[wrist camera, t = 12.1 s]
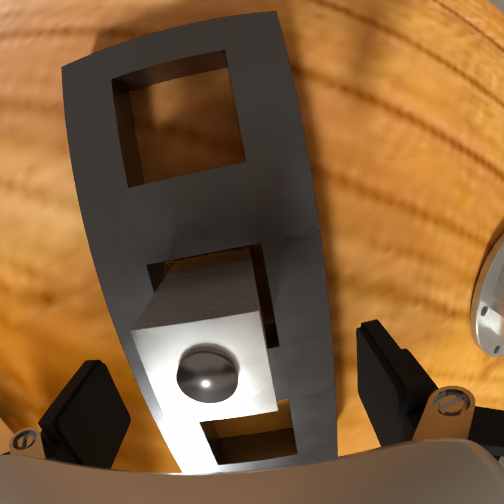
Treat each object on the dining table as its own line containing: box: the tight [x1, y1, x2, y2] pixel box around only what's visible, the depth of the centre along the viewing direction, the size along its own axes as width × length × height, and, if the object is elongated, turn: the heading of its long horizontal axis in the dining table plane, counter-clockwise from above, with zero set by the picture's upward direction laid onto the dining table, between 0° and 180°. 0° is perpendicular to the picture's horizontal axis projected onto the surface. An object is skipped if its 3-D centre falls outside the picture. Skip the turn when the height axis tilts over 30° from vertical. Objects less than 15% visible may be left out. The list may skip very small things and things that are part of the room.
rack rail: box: [61, 11, 338, 473], centre depth 18 cm, size 12×30×3 cm, turn 10°
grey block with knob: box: [130, 247, 278, 423], centre depth 15 cm, size 4×4×9 cm
